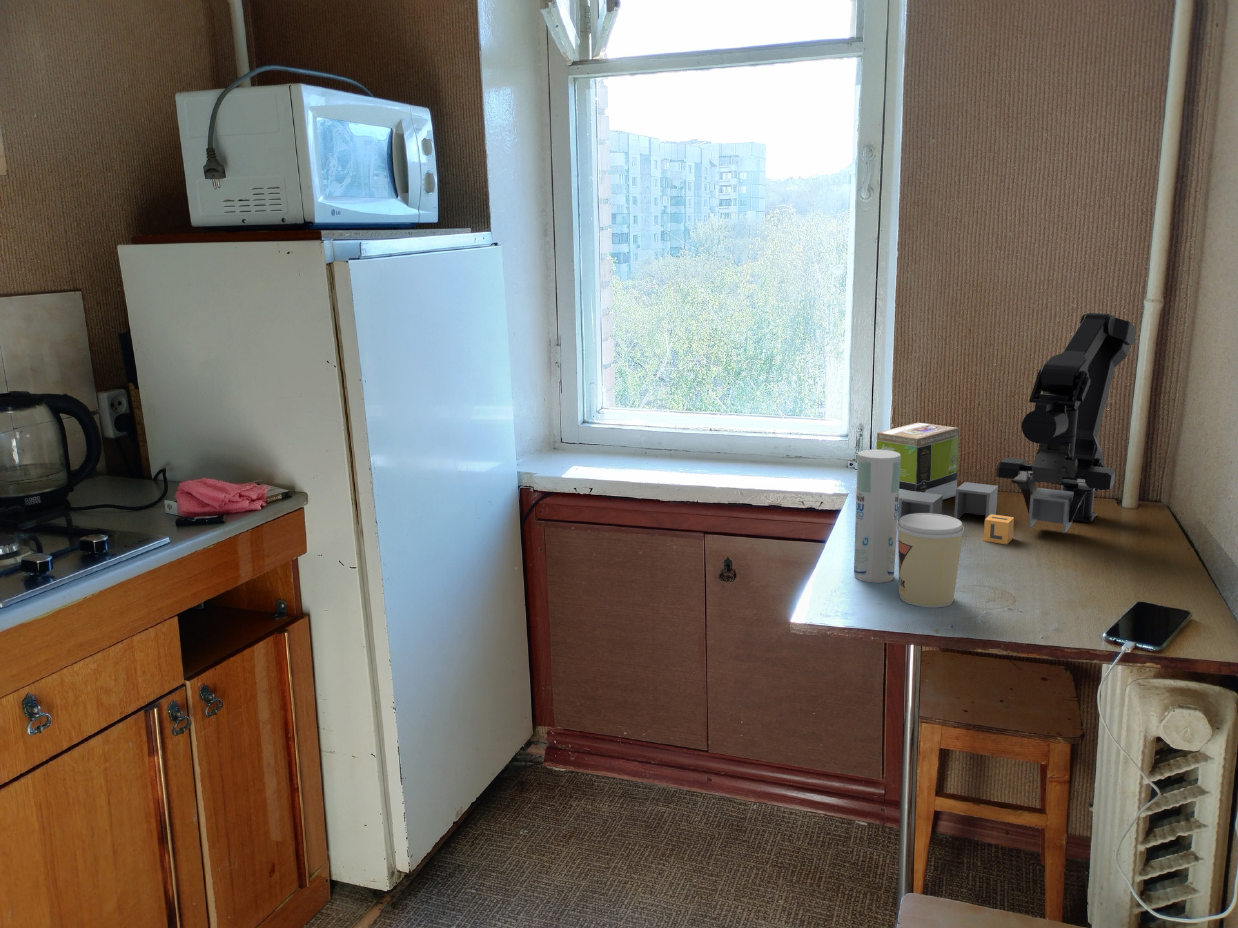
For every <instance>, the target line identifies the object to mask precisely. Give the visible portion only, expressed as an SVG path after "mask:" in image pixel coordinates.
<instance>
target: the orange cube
mask: <svg viewBox="0 0 1238 928" xmlns="http://www.w3.org/2000/svg"><path fill="white" fill-rule="evenodd" d="M985 518H986V517H985ZM985 518H984V525H983V526H984V527H983V539H982V540H983V542H989V543H996V544H1002V545H1008V544H1009V543H1010V542H1011V541H1012V540H1013V536H1014V524H1015V517H1013V516H1006V515H999V514H996V515H993V514H990V515H989V516H988V517H987V518H986V519H985Z"/></svg>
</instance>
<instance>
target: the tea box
mask: <svg viewBox="0 0 1238 928" xmlns="http://www.w3.org/2000/svg"><path fill="white" fill-rule="evenodd" d="M959 430H960V428H959V427H953V426H948V425H939V424H931V423H924V422H914V423H909V424H907V425H903V426H902V425H901V426H899V427H895V428H890V429H888V430H887V429H885V430H883V431H878V432H877V433H876V450H889V451H894V452H897V453H899V454H900V455H901V465H900V482H899V498H900V497H901V496H903V495H904V494H906V493H907V492H909V491H916V492H923V493H931V494H939V495H943V501H944V500H947V499H950V498H953V497H956V489H957V488H958V467H959V466H958V465H959V436H960V431H959ZM898 505H899V499H898Z"/></svg>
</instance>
